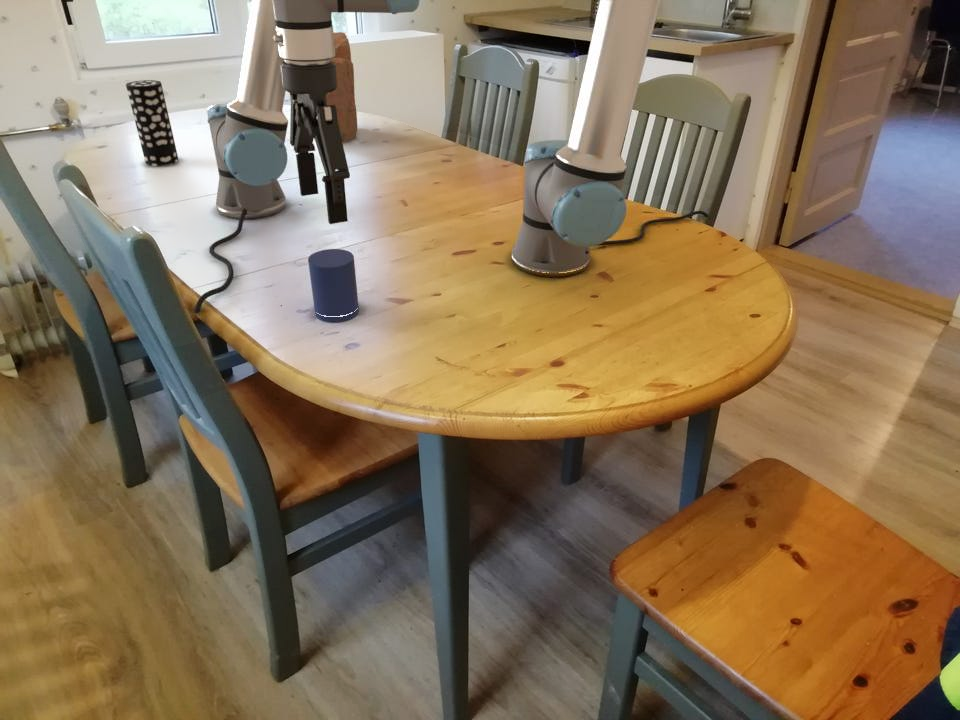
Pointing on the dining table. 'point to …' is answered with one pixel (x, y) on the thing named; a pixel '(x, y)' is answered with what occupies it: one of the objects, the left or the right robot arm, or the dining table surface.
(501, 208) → the dining table surface
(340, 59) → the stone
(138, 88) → the black white spotted cylinder
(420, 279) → the dining table surface
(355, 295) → the can
